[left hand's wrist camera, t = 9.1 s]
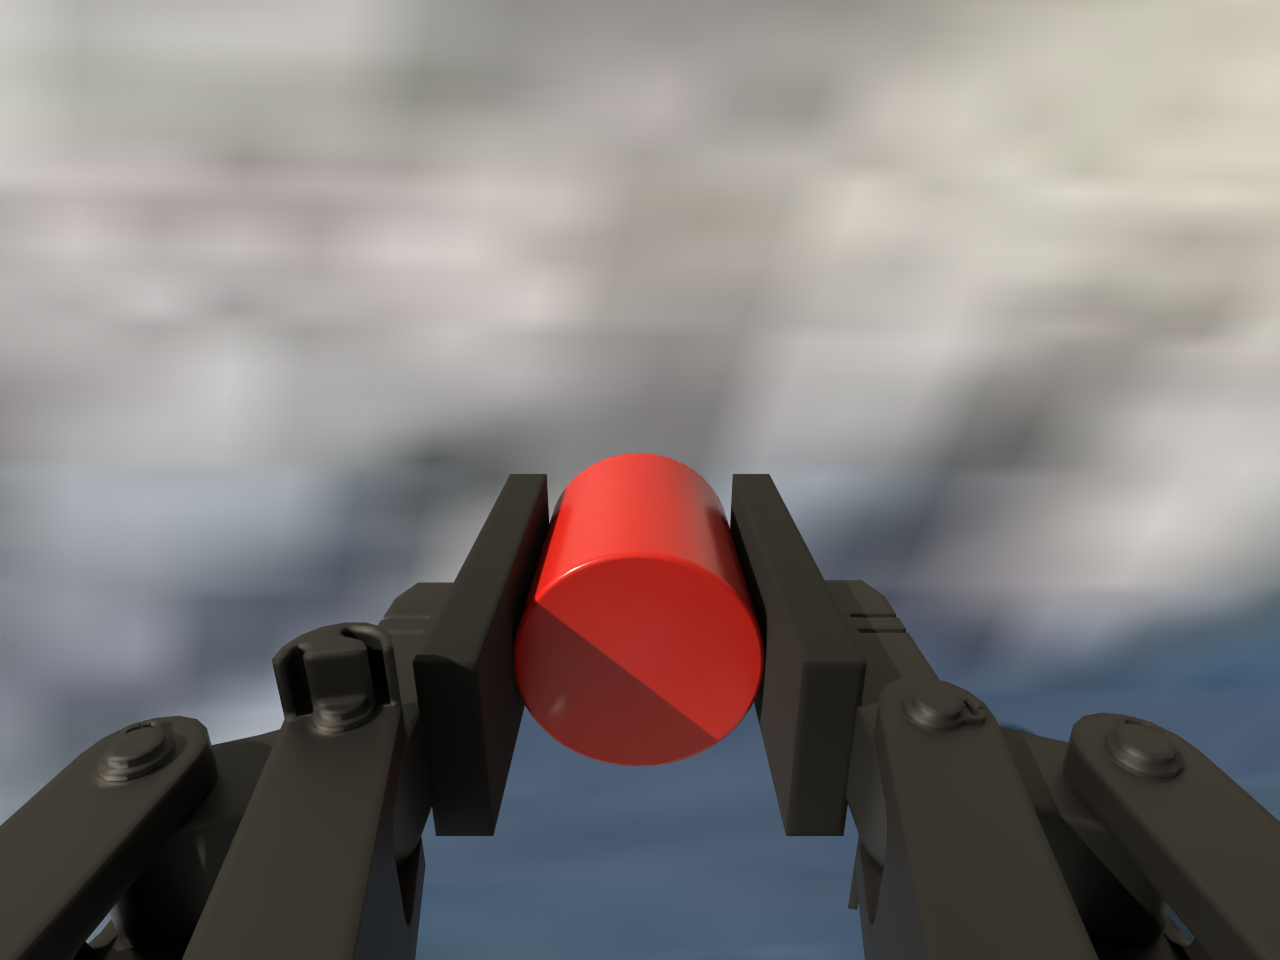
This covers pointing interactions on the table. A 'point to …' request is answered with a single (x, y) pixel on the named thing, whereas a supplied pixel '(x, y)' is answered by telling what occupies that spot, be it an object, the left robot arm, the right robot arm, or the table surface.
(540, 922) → the table surface
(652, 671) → the canister
